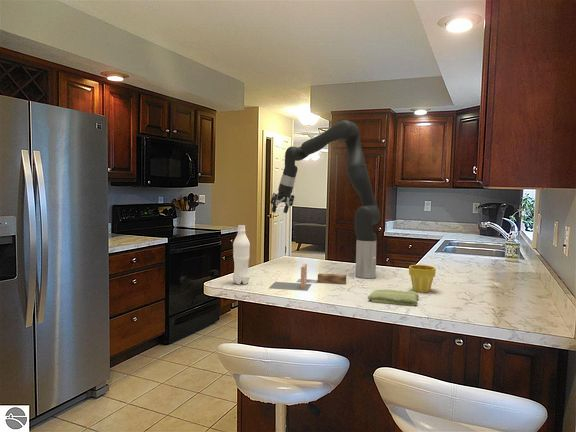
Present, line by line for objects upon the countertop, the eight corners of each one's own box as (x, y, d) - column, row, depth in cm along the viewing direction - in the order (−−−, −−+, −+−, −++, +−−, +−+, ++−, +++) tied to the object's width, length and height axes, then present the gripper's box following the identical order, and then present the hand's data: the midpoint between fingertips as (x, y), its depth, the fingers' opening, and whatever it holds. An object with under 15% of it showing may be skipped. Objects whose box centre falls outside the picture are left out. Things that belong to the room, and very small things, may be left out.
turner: (346, 283, 184) (346, 274, 184) (345, 286, 179) (345, 277, 178) (298, 280, 189) (299, 271, 188) (296, 283, 183) (296, 274, 182)
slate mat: (311, 285, 179) (311, 284, 179) (307, 292, 168) (307, 290, 168) (275, 283, 183) (275, 281, 182) (268, 289, 171) (268, 288, 171)
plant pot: (421, 294, 166) (422, 270, 166) (402, 288, 176) (403, 265, 175) (440, 292, 171) (441, 268, 170) (421, 286, 180) (422, 263, 180)
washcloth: (372, 294, 167) (372, 286, 167) (418, 299, 162) (419, 290, 161) (366, 303, 155) (367, 294, 155) (417, 308, 149) (417, 299, 149)
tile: (306, 285, 177) (306, 263, 177) (303, 289, 170) (304, 267, 170) (303, 284, 178) (303, 263, 177) (300, 288, 171) (301, 266, 170)
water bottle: (252, 282, 183) (253, 225, 181) (244, 285, 177) (244, 226, 175) (238, 280, 186) (238, 224, 184) (229, 284, 180) (229, 225, 178)
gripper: (281, 184, 216) (273, 214, 220) (301, 186, 226) (293, 215, 230) (272, 180, 221) (265, 209, 225) (291, 182, 231) (284, 210, 235)
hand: (279, 212), depth 228 cm, fingers open, 8 cm apart
